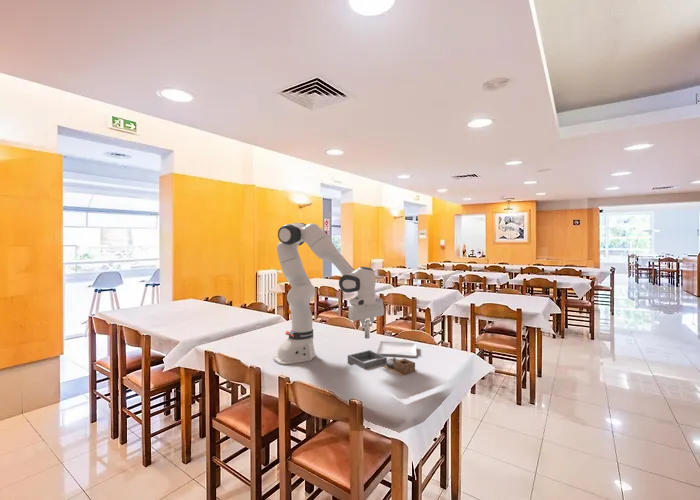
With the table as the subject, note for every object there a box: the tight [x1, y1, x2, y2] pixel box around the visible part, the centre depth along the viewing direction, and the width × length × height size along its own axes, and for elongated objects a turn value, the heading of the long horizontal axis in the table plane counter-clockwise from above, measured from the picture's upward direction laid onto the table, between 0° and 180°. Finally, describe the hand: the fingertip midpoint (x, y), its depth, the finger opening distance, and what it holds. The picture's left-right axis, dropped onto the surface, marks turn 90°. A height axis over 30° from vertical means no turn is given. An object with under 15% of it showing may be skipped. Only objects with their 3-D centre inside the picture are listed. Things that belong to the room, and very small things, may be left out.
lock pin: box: [364, 318, 371, 340], centre depth 168 cm, size 2×2×9 cm
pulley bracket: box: [381, 356, 418, 377], centre depth 159 cm, size 10×14×6 cm
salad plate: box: [375, 340, 418, 358], centre depth 185 cm, size 21×21×3 cm
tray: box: [347, 349, 388, 370], centre depth 169 cm, size 14×14×4 cm
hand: (367, 326), depth 168 cm, fingers closed on lock pin, 2 cm apart
